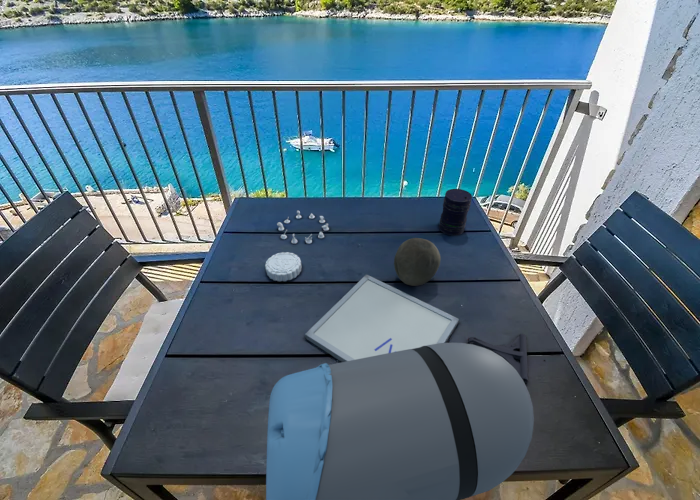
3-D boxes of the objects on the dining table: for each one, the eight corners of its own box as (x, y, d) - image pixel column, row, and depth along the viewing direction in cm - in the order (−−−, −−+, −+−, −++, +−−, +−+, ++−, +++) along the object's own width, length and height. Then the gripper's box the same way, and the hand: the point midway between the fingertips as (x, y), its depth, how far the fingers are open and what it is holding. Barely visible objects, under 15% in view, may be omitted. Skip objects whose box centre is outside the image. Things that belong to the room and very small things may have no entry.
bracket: (469, 324, 100) (471, 317, 99) (525, 338, 96) (528, 332, 95) (464, 365, 90) (466, 359, 88) (526, 383, 86) (530, 377, 84)
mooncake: (261, 280, 115) (259, 272, 112) (272, 257, 124) (270, 249, 122) (297, 283, 113) (296, 275, 111) (305, 259, 123) (304, 251, 121)
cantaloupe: (431, 299, 108) (439, 262, 99) (387, 288, 112) (391, 251, 102) (438, 270, 118) (446, 235, 109) (398, 261, 122) (402, 226, 113)
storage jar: (434, 229, 138) (440, 195, 128) (446, 218, 143) (452, 186, 134) (457, 238, 133) (465, 204, 123) (468, 227, 138) (477, 194, 129)
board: (407, 404, 82) (408, 400, 80) (305, 338, 96) (304, 334, 95) (457, 323, 100) (459, 318, 99) (366, 278, 115) (366, 274, 114)
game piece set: (269, 239, 132) (268, 230, 130) (291, 212, 147) (290, 204, 145) (317, 248, 128) (316, 240, 126) (335, 219, 143) (334, 211, 140)
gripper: (371, 385, 82) (468, 383, 82) (380, 484, 66) (499, 479, 67) (373, 367, 77) (475, 364, 78) (382, 468, 61) (511, 464, 62)
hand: (486, 417), depth 72 cm, fingers open, 7 cm apart
